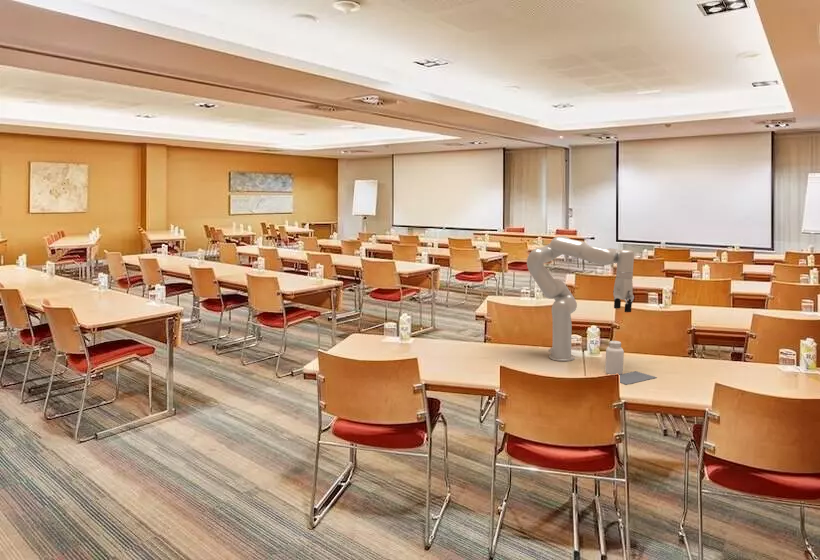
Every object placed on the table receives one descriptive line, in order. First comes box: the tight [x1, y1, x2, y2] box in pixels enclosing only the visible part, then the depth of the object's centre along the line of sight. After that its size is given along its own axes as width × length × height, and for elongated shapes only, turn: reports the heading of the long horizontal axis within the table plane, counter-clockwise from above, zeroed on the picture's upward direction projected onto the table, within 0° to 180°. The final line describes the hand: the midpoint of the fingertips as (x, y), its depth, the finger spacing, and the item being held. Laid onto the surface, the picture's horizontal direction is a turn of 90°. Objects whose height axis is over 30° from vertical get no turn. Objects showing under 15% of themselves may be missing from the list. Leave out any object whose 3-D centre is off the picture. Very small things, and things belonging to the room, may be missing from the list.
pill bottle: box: [604, 340, 625, 375], centre depth 277 cm, size 8×8×15 cm
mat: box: [619, 371, 658, 386], centre depth 269 cm, size 12×20×1 cm, turn 119°
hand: (622, 310), depth 286 cm, fingers open, 9 cm apart
